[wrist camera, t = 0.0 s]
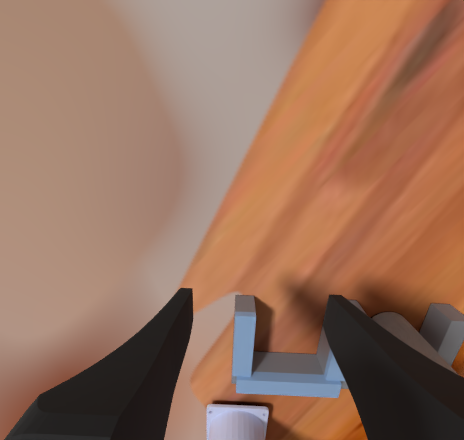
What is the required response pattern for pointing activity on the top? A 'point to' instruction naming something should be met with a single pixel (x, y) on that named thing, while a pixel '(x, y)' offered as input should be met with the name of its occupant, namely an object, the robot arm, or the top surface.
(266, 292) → the top surface
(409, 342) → the grey cylinder
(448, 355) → the grey flat angled piece
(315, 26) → the top surface
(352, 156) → the top surface
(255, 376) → the blue u-shaped bracket
